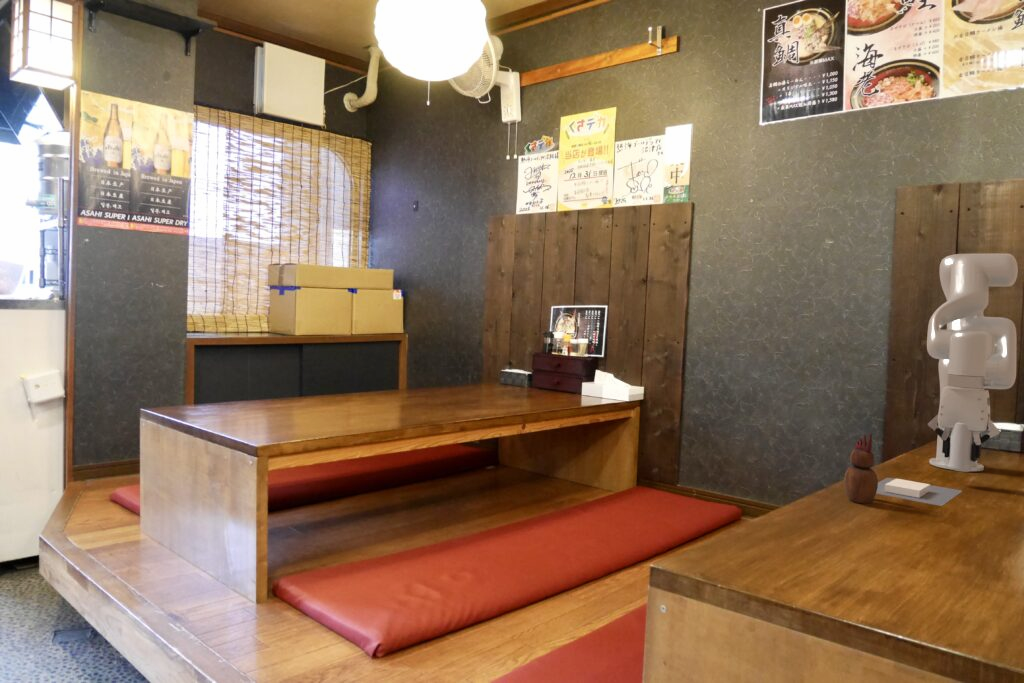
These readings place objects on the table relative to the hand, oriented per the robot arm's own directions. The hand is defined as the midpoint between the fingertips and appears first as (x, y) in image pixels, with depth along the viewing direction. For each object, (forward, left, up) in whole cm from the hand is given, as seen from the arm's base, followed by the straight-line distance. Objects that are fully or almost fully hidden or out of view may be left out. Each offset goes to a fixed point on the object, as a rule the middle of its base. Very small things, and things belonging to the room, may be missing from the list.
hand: (960, 458), depth 169 cm
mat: (+16, -6, -7) cm, 18 cm away
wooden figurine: (+35, -12, -7) cm, 37 cm away
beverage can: (0, 0, -3) cm, 3 cm away
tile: (+14, -7, -6) cm, 16 cm away
